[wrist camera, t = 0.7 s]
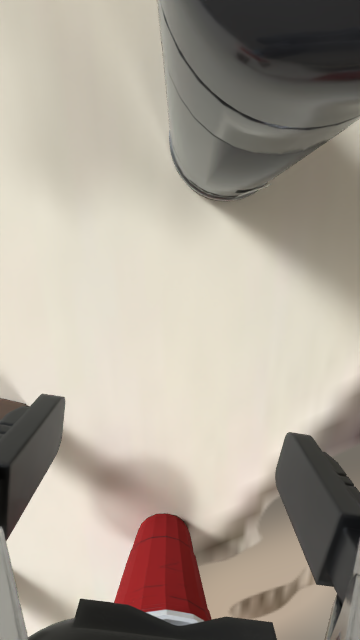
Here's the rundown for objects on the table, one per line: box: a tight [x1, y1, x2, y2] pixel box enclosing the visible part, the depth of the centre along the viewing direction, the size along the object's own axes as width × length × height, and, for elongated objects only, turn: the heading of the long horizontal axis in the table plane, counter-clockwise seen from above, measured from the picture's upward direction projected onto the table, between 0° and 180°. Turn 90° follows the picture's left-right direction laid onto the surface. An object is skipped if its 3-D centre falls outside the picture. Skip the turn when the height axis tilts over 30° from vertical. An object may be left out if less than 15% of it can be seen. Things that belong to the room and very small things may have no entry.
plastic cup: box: [114, 514, 211, 626], centre depth 29 cm, size 11×11×12 cm
